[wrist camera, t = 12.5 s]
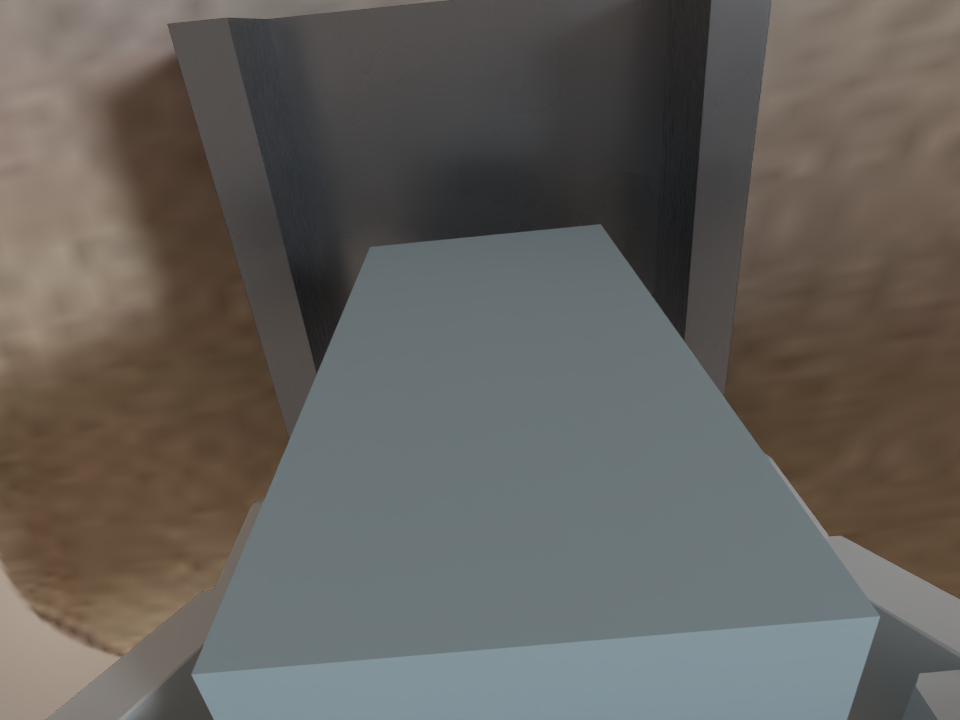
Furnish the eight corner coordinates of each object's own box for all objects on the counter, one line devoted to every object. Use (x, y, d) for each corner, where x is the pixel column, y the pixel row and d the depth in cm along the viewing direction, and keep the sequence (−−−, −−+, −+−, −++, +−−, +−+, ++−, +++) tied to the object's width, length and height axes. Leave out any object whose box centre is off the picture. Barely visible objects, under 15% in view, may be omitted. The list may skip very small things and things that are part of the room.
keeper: (710, -26, 13) (776, -40, 10) (672, 473, 19) (706, 546, 16) (228, 24, 13) (167, 23, 10) (348, 501, 19) (329, 577, 16)
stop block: (600, 223, 11) (881, 616, 4) (600, 493, 13) (753, 1006, 6) (370, 247, 11) (191, 674, 4) (418, 509, 13) (372, 1034, 6)
